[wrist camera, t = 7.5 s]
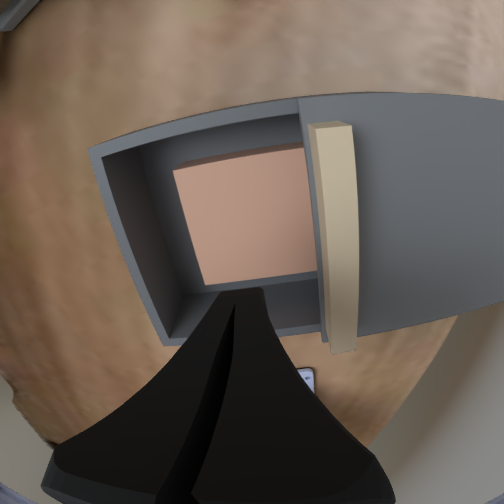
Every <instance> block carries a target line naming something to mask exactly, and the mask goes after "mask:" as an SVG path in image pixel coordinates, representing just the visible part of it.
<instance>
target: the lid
mask: <svg viewBox="0 0 504 504" xmlns="http://www.w3.org/2000/svg"><path fill="white" fill-rule="evenodd" d="M296 100H297V106H298V112H299V119H300V125H301V132H302V139H303V146H304V153H305V160H306V168H307V175H308V184H309V192H310V201H311V210H312V219H313V229H314V240H315V251H316V262H317V275H318V289H319V304H320V322H321V337H322V342H323V343H324V342H329V346H330V351H331V354H337V353H343V352H348V351H354V350H356V340H357V337H360V336H366V335H371V334H376V333H381V332H386V331H391V330H396V329H401V328H405V327H410V326H414V325H419V324H423V323H427V322H431V321H435V320H439V319H443V318H447V317H451V316H455V315H458V314H462V313H466V312H469V311H473V310H476V309H479V308H483V307H486V306H489V305H493V304H496V303H499V302H502V301H504V101H501V100H495V99H487V98H479V97H470V96H459V95H446V94H428V93H362V94H343V95H329V96H318V97H307V98H298V99H296Z"/></svg>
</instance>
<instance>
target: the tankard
mask: <svg viewBox="0 0 504 504" xmlns="http://www.w3.org/2000/svg"><path fill="white" fill-rule="evenodd" d="M39 1H40V0H0V32H5V31H11V30H13V29H14V28H15V27H16V26H17V25H18V24H19V22H20V21H21V20H22V19H23V18H24V17H25V16H26V15H27V14H28V12H29V11H30V10H31V9H32V8H33V7H34V6H35V5H36V4H37V3H38V2H39Z"/></svg>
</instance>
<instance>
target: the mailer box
mask: <svg viewBox="0 0 504 504" xmlns="http://www.w3.org/2000/svg"><path fill="white" fill-rule="evenodd" d="M362 93H398V92H350V93H334V94H322V95H311V96H302V97H293V98H285V99H277V100H270V101H264V102H257V103H251V104H246V105H240V106H235V107H229V108H224V109H219V110H214V111H210V112H205V113H201V114H196V115H192V116H188V117H184V118H180V119H176V120H172V121H168V122H165V123H161V124H157V125H154V126H150V127H147V128H144V129H140V130H137V131H134V132H130V133H127V134H125V135H122V136H119V137H116V138H114V139H111V140H108V141H106V142H103V143H100V144H98V145H95V146H93V147H90V148H88V153H89V156H90V160H91V163H92V167H93V170H94V173H95V177H96V180H97V183H98V186H99V190H100V193H101V196H102V199H103V202H104V205H105V208H106V211H107V214H108V217H109V219H110V222H111V225H112V228H113V231H114V233H115V236H116V239H117V241H118V244H119V247H120V249H121V252H122V254H123V257H124V259H125V262H126V264H127V267H128V269H129V272H130V274H131V277H132V279H133V281H134V284H135V286H136V288H137V291H138V293H139V295H140V298H141V300H142V302H143V304H144V306H145V309H146V311H147V313H148V315H149V317H150V319H151V322H152V324H153V326H154V328H155V330H156V332H157V334H158V336H159V338H160V340H161V342H162V344H163V346H177V345H183V343H184V342H185V341H186V340H187V338H188V337H189V336H190V334H191V333H192V332H193V330H194V329H195V327H196V326H197V325H198V323H199V322H200V321H201V319H202V318H203V316H204V315H205V313H206V312H207V310H208V309H209V307H210V306H211V304H212V303H213V301H214V300H215V299H216V297H217V296H218V294H219V293H220V292H221V291H229V290H238V289H246V288H254V287H260V288H262V289H263V290H264V295H265V301H266V306H267V311H268V316H269V319H270V321H271V323H272V326H273V328H274V330H275V332H276V334H277V336H278V337H283V336H291V335H298V334H306V333H313V332H320V331H321V322H320V304H319V289H318V275H317V262H316V251H315V240H314V229H313V219H312V210H311V201H310V192H309V184H308V175H307V168H306V160H305V153H304V146H303V139H302V132H301V125H300V119H299V112H298V106H297V100H296V99H298V98H307V97H318V96H329V95H343V94H362Z"/></svg>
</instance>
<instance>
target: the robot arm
mask: <svg viewBox="0 0 504 504" xmlns="http://www.w3.org/2000/svg"><path fill="white" fill-rule="evenodd" d="M41 488H42V490H43V491H44V492H45V493H46V494H48V495H49V496H51V497H52V498H54V499H56V500H57V501H59V502H61V503H63V504H395V502H396V500H395V495H394V492H393V489H392V486H391V484H390V481H389V479H388V477H387V476H386V474H385V472H384V470H383V468H382V467H381V465H380V463H379V462H378V460H377V459H376V457H375V455H374V454H373V453H372V452H370V451H369V450H368V449H367V448H366V447H365V446H364V445H362V444H361V443H360V442H359V441H358V440H357V439H356V438H355V437H354V436H353V435H352V434H351V433H350V432H348V431H347V430H346V429H345V427H344V426H343V425H342V424H341V423H340V422H339V421H338V420H337V419H336V418H335V417H334V416H333V415H332V414H331V413H330V412H329V410H328V409H327V408H326V407H325V406H324V405H323V403H322V402H321V401H320V400H319V399H318V397H317V396H316V395H315V394H314V377H313V370H312V369H310V368H306V369H298V370H297V369H296V368H295V366H294V365H293V363H292V362H291V360H290V358H289V357H288V355H287V353H286V351H285V350H284V348H283V346H282V344H281V342H280V340H279V338H278V336H277V334H276V332H275V330H274V328H273V326H272V323H271V321H270V319H269V316H268V311H267V306H266V301H265V295H264V290H263V289H262V288H260V287H254V288H246V289H238V290H229V291H221V292H220V293H219V294H218V296H217V297H216V299H215V300H214V301H213V303H212V304H211V306H210V307H209V309H208V310H207V312H206V313H205V315H204V316H203V318H202V319H201V321H200V322H199V323H198V325H197V326H196V327H195V329H194V330H193V332H192V333H191V334H190V336H189V337H188V338H187V340H186V341H185V342H184V343H183V345H182V346H181V347H180V348H179V350H178V351H177V352H176V353H175V354H174V356H173V357H172V358H171V359H170V360H169V362H168V363H167V364H166V365H165V366H164V367H163V368H162V369H161V370H160V371H159V372H158V373H157V374H156V375H155V376H154V377H153V378H152V379H151V380H150V381H149V382H148V383H147V384H146V385H145V386H144V387H143V388H142V389H140V390H139V391H138V392H137V393H136V394H134V395H133V396H132V397H131V398H130V399H129V400H127V401H126V402H125V403H124V404H123V405H121V406H120V407H119V408H117V409H116V410H115V411H113V412H112V413H111V414H109V415H108V416H106V417H105V418H103V419H102V420H100V421H99V422H97V423H96V424H94V425H93V426H91V427H90V428H88V429H86V430H85V431H83V432H81V433H79V434H77V435H76V436H74V437H72V438H70V439H68V440H66V441H65V442H63V443H61V444H59V445H57V446H55V449H54V451H53V454H52V456H51V459H50V461H49V464H48V467H47V470H46V472H45V475H44V478H43V480H42V483H41ZM0 504H37V503H35V502H33V501H31V500H29V499H28V498H26V497H24V496H22V495H20V494H19V493H17V492H15V491H14V490H12V489H10V488H8V487H7V486H5V485H3V484H2V483H0ZM485 504H504V493H503V494H502V495H500V496H498V497H496V498H494V499H493V500H491V501H489V502H487V503H485Z"/></svg>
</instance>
